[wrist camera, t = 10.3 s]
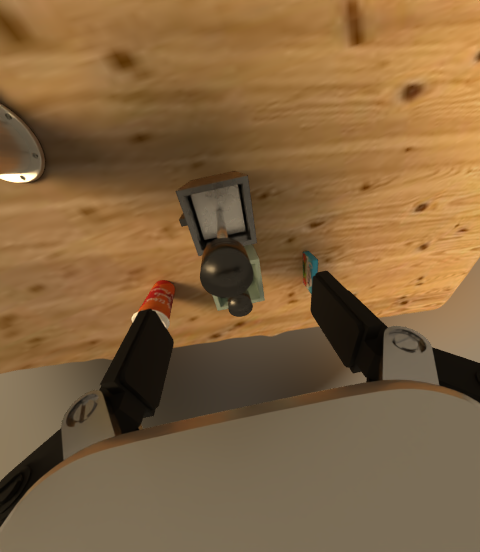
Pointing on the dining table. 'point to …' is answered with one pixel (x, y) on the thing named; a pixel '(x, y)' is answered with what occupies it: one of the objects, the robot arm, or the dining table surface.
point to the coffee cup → (160, 301)
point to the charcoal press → (211, 184)
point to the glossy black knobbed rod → (240, 304)
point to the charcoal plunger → (222, 242)
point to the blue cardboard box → (309, 269)
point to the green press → (256, 285)
